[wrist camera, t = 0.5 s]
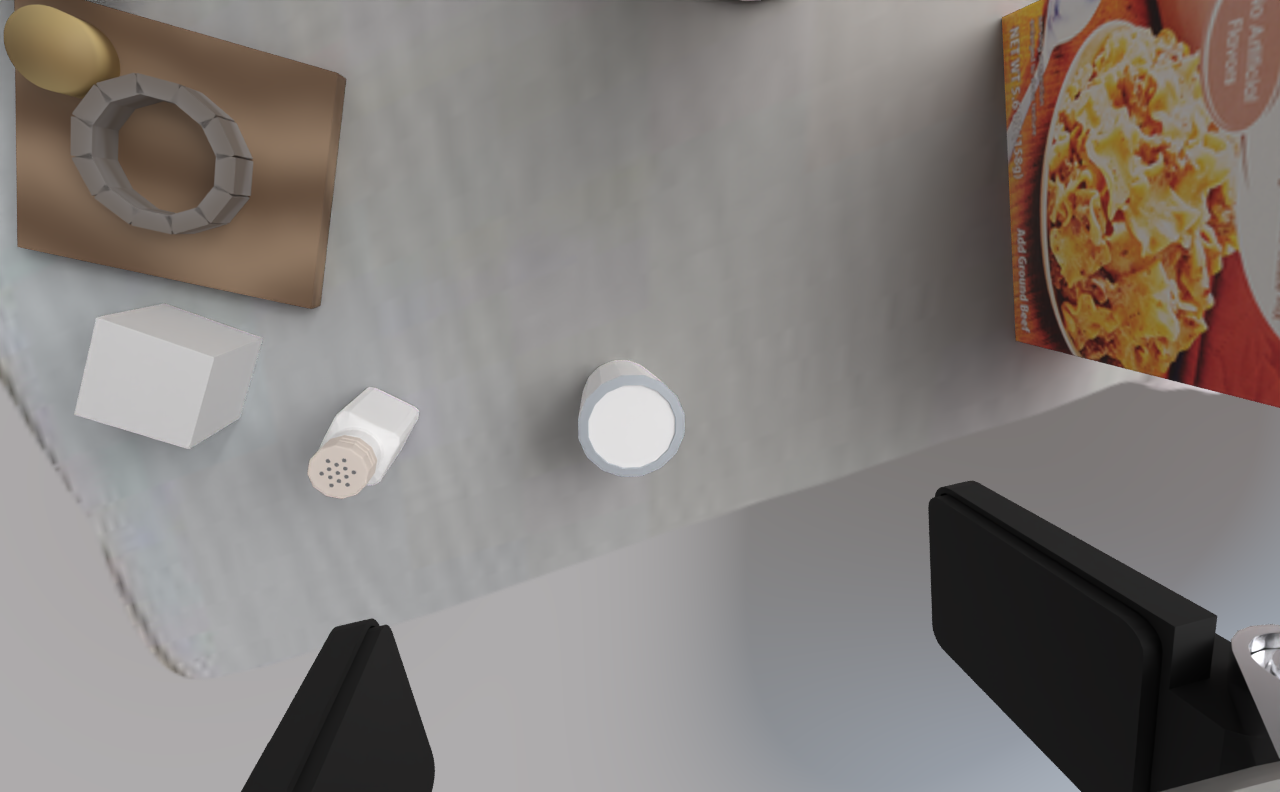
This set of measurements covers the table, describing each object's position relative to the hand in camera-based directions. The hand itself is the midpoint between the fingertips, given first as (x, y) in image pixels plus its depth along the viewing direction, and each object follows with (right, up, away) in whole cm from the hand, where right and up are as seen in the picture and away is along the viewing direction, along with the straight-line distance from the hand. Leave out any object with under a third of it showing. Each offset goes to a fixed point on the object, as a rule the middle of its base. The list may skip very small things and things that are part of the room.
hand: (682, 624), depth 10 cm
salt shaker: (-19, +2, +32) cm, 37 cm away
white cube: (-30, +6, +29) cm, 42 cm away
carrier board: (-28, +18, +26) cm, 42 cm away
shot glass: (-2, +4, +34) cm, 34 cm away
